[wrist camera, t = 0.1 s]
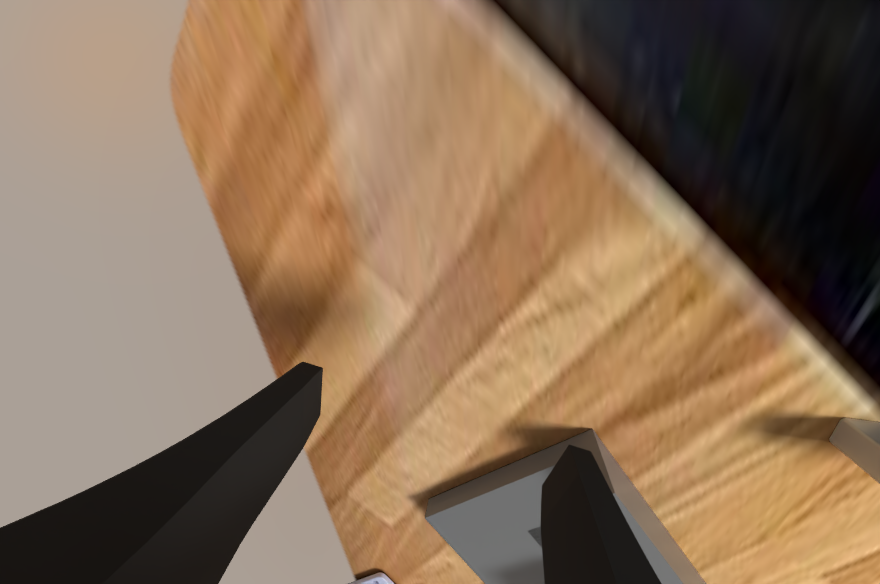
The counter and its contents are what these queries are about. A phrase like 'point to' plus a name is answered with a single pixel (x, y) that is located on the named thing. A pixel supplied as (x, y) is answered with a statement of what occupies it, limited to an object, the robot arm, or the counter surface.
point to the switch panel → (519, 519)
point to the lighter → (859, 443)
